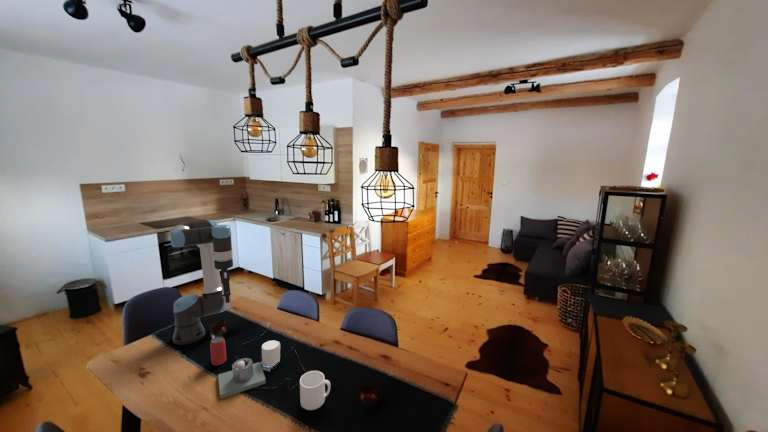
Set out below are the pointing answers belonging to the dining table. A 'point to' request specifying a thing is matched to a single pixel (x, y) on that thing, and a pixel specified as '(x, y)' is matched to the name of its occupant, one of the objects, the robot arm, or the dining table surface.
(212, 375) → the dining table surface
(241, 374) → the ring
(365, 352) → the dining table surface
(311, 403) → the mug
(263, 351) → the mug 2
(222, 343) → the beer can
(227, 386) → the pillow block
